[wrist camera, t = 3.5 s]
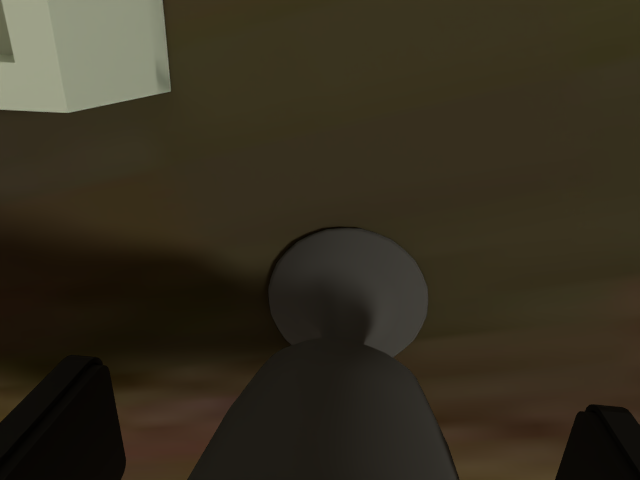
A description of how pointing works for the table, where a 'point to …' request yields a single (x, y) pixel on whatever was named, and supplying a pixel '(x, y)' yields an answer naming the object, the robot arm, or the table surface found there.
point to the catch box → (80, 53)
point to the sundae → (336, 373)
